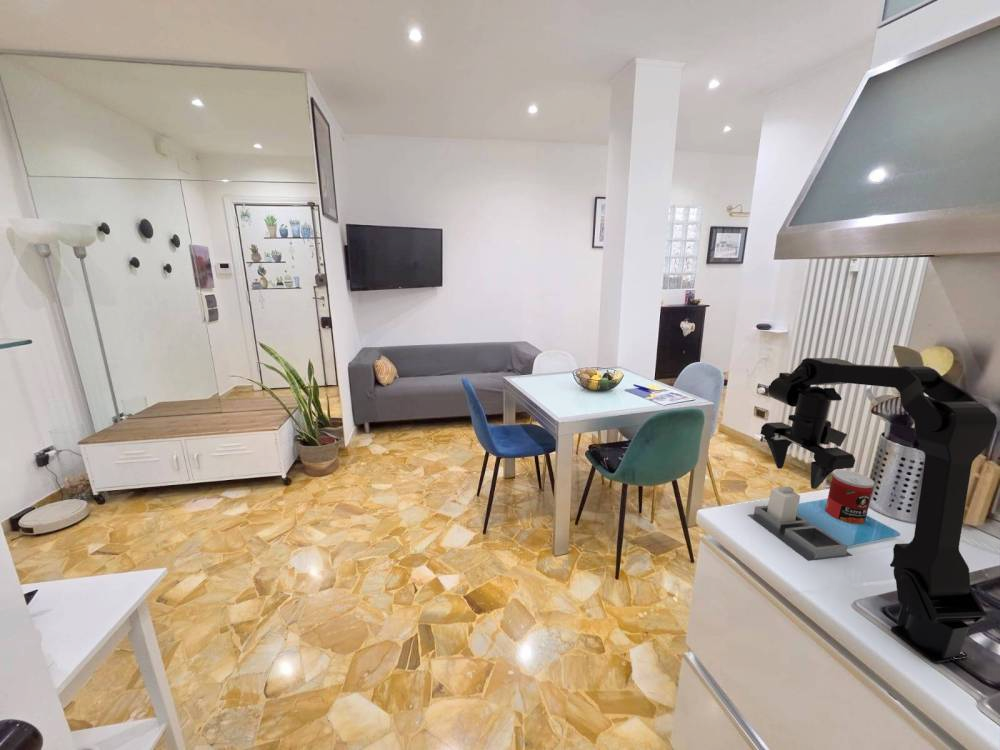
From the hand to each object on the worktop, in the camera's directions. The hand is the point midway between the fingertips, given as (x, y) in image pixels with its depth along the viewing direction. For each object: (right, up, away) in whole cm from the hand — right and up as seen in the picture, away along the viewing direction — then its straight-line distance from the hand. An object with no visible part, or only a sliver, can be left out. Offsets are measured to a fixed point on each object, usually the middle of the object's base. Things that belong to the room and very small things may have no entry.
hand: (795, 477), depth 93 cm
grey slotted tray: (0, -14, 0) cm, 14 cm away
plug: (-1, -12, +5) cm, 13 cm away
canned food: (+18, -12, +8) cm, 23 cm away
